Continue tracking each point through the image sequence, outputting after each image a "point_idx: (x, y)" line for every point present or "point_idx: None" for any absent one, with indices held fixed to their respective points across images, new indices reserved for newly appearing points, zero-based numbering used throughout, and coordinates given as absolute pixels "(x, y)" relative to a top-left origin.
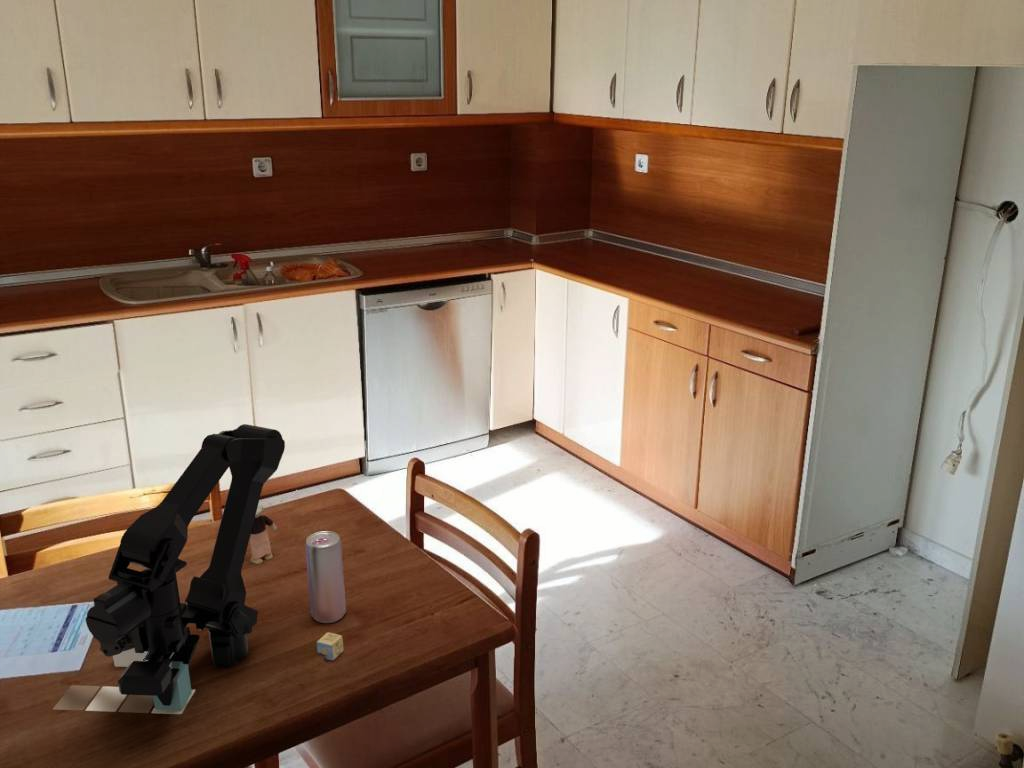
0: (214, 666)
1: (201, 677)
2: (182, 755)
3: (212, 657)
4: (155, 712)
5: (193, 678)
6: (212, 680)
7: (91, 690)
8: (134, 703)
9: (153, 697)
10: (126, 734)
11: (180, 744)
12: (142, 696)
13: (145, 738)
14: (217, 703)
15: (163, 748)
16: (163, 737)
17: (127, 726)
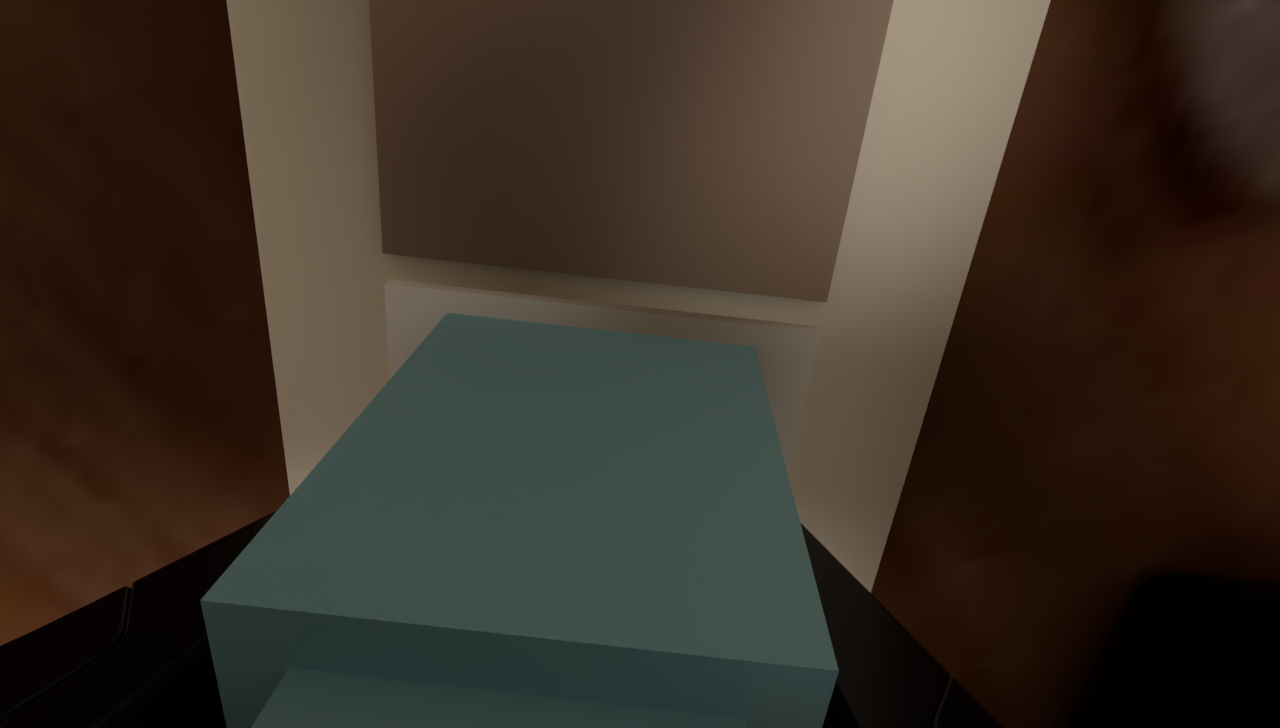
0: (1100, 698)
1: (1009, 562)
2: (16, 620)
3: (1264, 678)
4: (399, 328)
5: (1013, 500)
6: (936, 650)
7: None
8: (547, 5)
9: (385, 386)
10: (105, 69)
11: (119, 585)
12: (691, 73)
13: (105, 296)
14: None
15: (37, 480)
16: (160, 447)
17: (229, 31)
